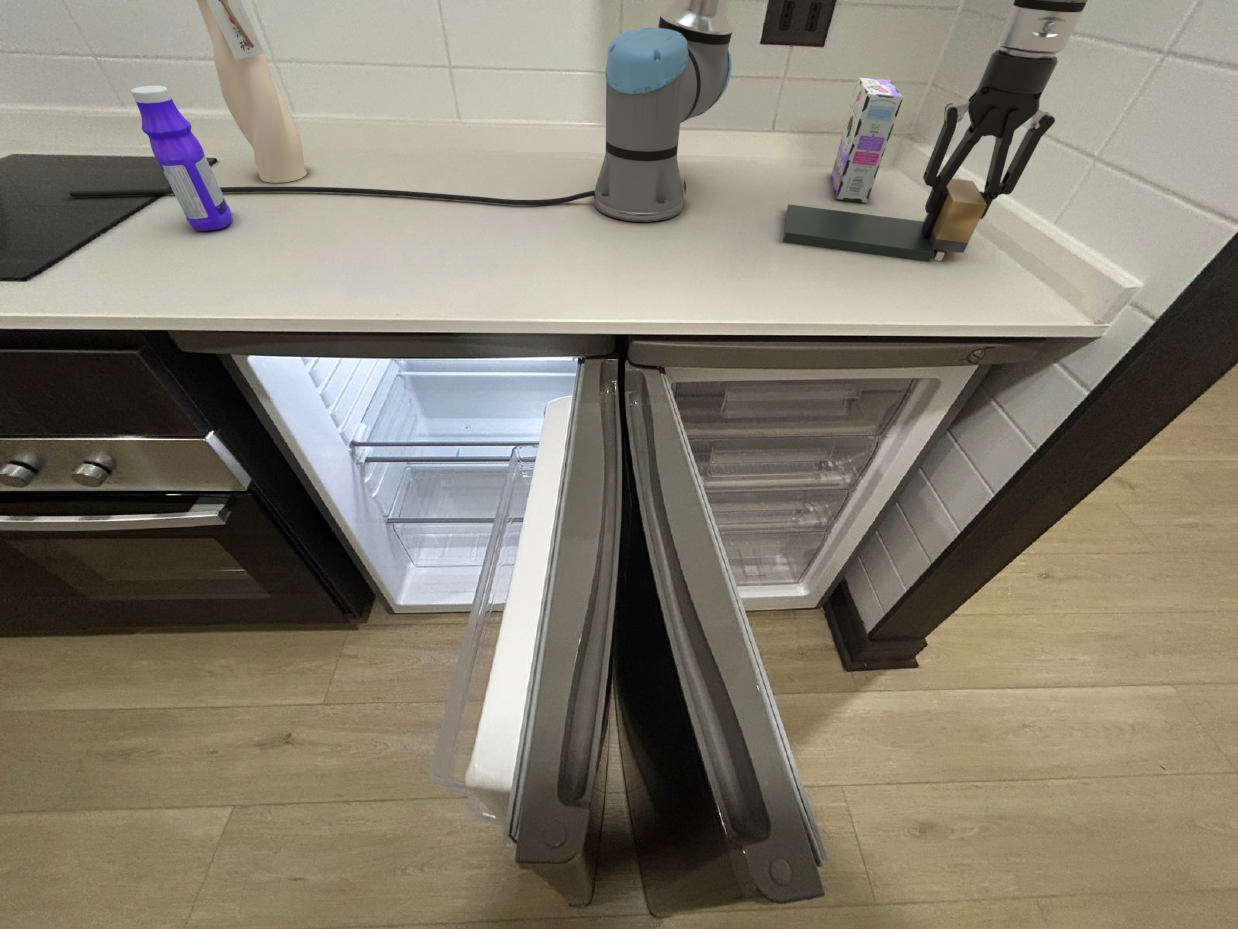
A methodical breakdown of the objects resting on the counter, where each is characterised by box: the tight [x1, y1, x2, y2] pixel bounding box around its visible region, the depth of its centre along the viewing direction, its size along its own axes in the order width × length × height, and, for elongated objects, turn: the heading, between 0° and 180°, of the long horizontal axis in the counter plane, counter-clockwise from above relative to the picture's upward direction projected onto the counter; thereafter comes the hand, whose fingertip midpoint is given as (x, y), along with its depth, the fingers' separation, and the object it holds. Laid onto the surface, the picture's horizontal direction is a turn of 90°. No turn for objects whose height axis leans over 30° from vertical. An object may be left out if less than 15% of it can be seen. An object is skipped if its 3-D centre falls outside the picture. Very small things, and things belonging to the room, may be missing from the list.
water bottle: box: [196, 0, 308, 184], centre depth 89 cm, size 10×9×28 cm
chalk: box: [933, 249, 945, 262], centre depth 85 cm, size 4×1×1 cm
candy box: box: [830, 77, 904, 204], centre depth 98 cm, size 14×6×16 cm, turn 168°
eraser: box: [923, 178, 987, 254], centre depth 84 cm, size 4×10×7 cm, turn 166°
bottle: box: [130, 85, 233, 232], centre depth 78 cm, size 7×6×17 cm
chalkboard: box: [783, 203, 934, 263], centre depth 89 cm, size 22×12×2 cm, turn 76°
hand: (943, 235), depth 86 cm, fingers closed on eraser, 4 cm apart
